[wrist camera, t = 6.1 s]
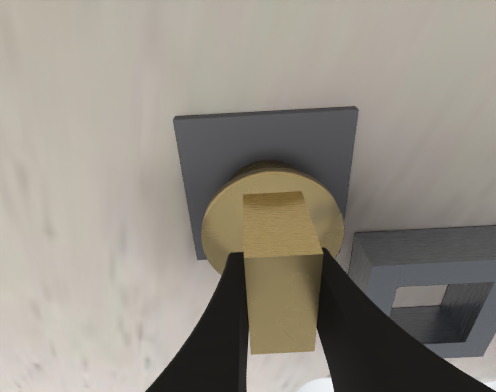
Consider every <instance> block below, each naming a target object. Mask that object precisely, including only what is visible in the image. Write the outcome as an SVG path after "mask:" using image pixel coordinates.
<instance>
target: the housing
mask: <svg viewBox="0 0 496 392" xmlns="http://www.w3.org/2000/svg"><path fill="white" fill-rule="evenodd" d="M348 276H349V277H350V278H351V279H352V280H353V281H354V283H355V284H356V285H357V286H358V287H359V288H360V289H361V290H362V291H363V292H364V293H365V295H366V296H367V297H368V298H369V299H370V300H371V301H372V302H373V303H374V304H375V305H376V306H378V307H379V308H380V309H381V310H382V311H383V312H384V313H385V314H386V315H387V316H388V317H389V318H391V319H392V320H393V321H394V322H395V323H396V324H397V325H399V326H400V327H401V328H402V329H404V330H405V331H406V332H407V333H408V334H410V335H411V336H412V337H414V338H415V339H416V340H418V341H419V342H420V343H422V344H423V345H424V346H426V347H427V348H429V349H430V350H431V351H433V352H434V353H435V354H437V355H438V356H440V357H441V358H460V357H479V356H483V355H484V353H485V351H486V349H487V347H488V346H489V344H490V342H491V340H492V338H493V336H494V335H495V333H496V225H494V226H475V227H457V228H438V229H419V230H401V231H382V232H364V233H355V235H354V242H353V248H352V255H351V261H350V268H349V274H348ZM442 284H449V286H448V288H447V291H446V293H445V296H444V299H443V301H442V304H441V306H427V307H408V308H392V304H393V301H394V297H395V293H396V289H397V287H405V286H424V285H442Z"/></svg>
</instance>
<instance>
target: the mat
mask: <svg viewBox="0 0 496 392" xmlns="http://www.w3.org/2000/svg"><path fill="white" fill-rule="evenodd" d="M357 118H358V109H357V108H356V107H355V106H352V107H334V108H316V109H298V110H281V111H263V112H245V113H227V114H209V115H191V116H175V117H174V119H173V123H174V129H175V135H176V141H177V146H178V152H179V158H180V164H181V169H182V175H183V181H184V186H185V192H186V198H187V204H188V209H189V215H190V221H191V227H192V232H193V238H194V244H195V250H196V255H197V260H207V257H206V255H205V253H204V250H203V246H202V240H201V233H202V225H203V219H204V215H205V211H206V209H207V206H208V204H209V202H210V201H211V199H212V197H213V196H214V195H215V194H216V192H217V191H218V190H219V189H220V188H221V187H222V186H224V185H225V184H226V183H227V182H229V181H230V179H231V178H232V176H233V175H234V174H235V173H236V172H237V171H238V170H240V169H241V168H243V167H244V166H246V165H248V164H251V163H254V162H257V161H263V160H275V161H280V162H284V163H286V164H289V165H291V166H293V167H294V168H295V169H297V170H298V171H300V172H303V173H305V174H308V175H310V176H311V177H313V178H315V179H317V180H318V181H319V182H321V183H322V184H323V185H324V186H325V187H326V188H327V189H328V190H329V192H330V193H331V194H332V196H333V197H334V199H335V201H336V203H337V205H338V207H339V209H340V212H341V214H342V217H343V221H344V218H345V210H346V202H347V195H348V187H349V179H350V172H351V164H352V156H353V148H354V141H355V133H356V125H357ZM340 249H341V248H340ZM339 252H340V250H339Z"/></svg>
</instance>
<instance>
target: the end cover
mask: <svg viewBox="0 0 496 392" xmlns="http://www.w3.org/2000/svg"><path fill="white" fill-rule="evenodd" d="M343 238H344V221H343V217H342V214H341V212H340V209H339V207H338V205H337V203H336V201H335V199H334V197H333V196H332V194H331V193H330V192H329V190H328V189H327V188H326V187H325V186H324V185H323V184H322V183H321V182H319V181H318V180H317V179H315V178H313V177H311V176H310V175H308V174H305V173H303V172H300V171H298V170H297V169H295V168H294V167H293V166H291V165H289V164H286V163H284V162H280V161H275V160H263V161H257V162H254V163H251V164H248V165H246V166H244V167H243V168H241V169H240V170H238V171H237V172H236V173H235V174H234V175H233V176H232V178H231V179H230V181H229V182H227V183H226V184H225V185H224V186H222V187H221V188H220V189H219V190H218V191H217V192H216V194H215V195H214V196H213V197H212V199H211V201H210V202H209V204H208V206H207V209H206V211H205V215H204V219H203V225H202V233H201V240H202V246H203V250H204V253H205V255H206V257H207V259H208V261H209V262H210V264H211V265H212V266H213V267H214V269H215V270H216V271H217V272H219V273H220V274H221V275H222V274H223V271H224V268H225V265H226V262H227V258H228V255H229V254H230V253H231V252H244V265H245V279H246V293H247V306H248V320H249V333H250V347H251V354H270V353H289V352H308V351H314V349H315V339H316V328H317V317H318V306H319V295H320V285H321V274H322V263H323V251H322V249H321V248H323V247H325V248H326V249H327V250H328V251H329V252H330V254H331V255H332V256H333V258H334V259H335V257H336V256H337V254H338V252H339V250H340V248H341V245H342V243H343Z"/></svg>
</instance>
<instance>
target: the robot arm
mask: <svg viewBox="0 0 496 392" xmlns="http://www.w3.org/2000/svg"><path fill="white" fill-rule="evenodd" d="M321 249H322V251H323V263H322V274H321V285H320V295H319V306H318V317H317V330H318V333H319V337H320V340H321V343H322V346H323V350H324V353H325V356H326V360H327V363H328V366H329V370H330V374H331V378H332V383H333V388H334V392H496V391H495V390H493V389H491V388H490V387H488V386H486V385H485V384H483V383H481V382H479V381H478V380H476V379H474V378H473V377H471V376H469V375H468V374H466V373H464V372H463V371H461V370H459V369H458V368H456V367H455V366H453V365H452V364H450V363H449V362H447V361H446V360H444V359H443V358H441V357H440V356H438V355H437V354H435V353H434V352H433V351H431V350H430V349H429V348H427V347H426V346H424V345H423V344H422V343H420V342H419V341H418V340H416V339H415V338H414V337H412V336H411V335H410V334H408V333H407V332H406V331H405V330H404V329H402V328H401V327H400V326H399V325H397V324H396V323H395V322H394V321H393V320H392V319H391V318H389V317H388V316H387V315H386V314H385V313H384V312H383V311H382V310H381V309H380V308H379V307H378V306H376V305H375V304H374V303H373V302H372V301H371V300H370V299H369V298H368V297H367V296H366V295H365V293H364V292H363V291H362V290H361V289H360V288H359V287H358V286H357V285H356V284H355V283H354V281H353V280H352V279H351V278H350V277H349V276H348V275H347V274H346V272H345V271H344V270H343V269H342V268H341V266H340V265H339V264H338V263H337V261H336V260H335V259H334V258H333V256H332V255H331V254H330V252H329V251H328V250H327V249H326V248H325V247H323V248H321ZM248 334H249V320H248V306H247V293H246V279H245V265H244V252H231V253H230V254H229V255H228V258H227V262H226V265H225V268H224V271H223V274H222V276H221V279H220V281H219V283H218V285H217V288H216V290H215V292H214V294H213V296H212V298H211V300H210V302H209V304H208V306H207V308H206V310H205V312H204V313H203V315H202V317H201V319H200V320H199V322H198V324H197V325H196V327H195V328H194V330H193V331H192V333H191V335H190V336H189V337H188V339H187V340H186V342H185V343H184V345H183V346H182V347H181V349H180V350H179V352H178V353H177V354H176V356H175V357H174V358H173V360H172V361H171V362H170V363H169V364H168V366H167V367H166V368H165V369H164V371H163V372H162V373H161V374H160V375H159V377H158V378H157V379H156V380H155V381H154V383H153V384H152V385H151V386H150V387H149V388H148V389H147V390H146V391H145V392H247V390H246V369H247V351H248Z"/></svg>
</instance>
